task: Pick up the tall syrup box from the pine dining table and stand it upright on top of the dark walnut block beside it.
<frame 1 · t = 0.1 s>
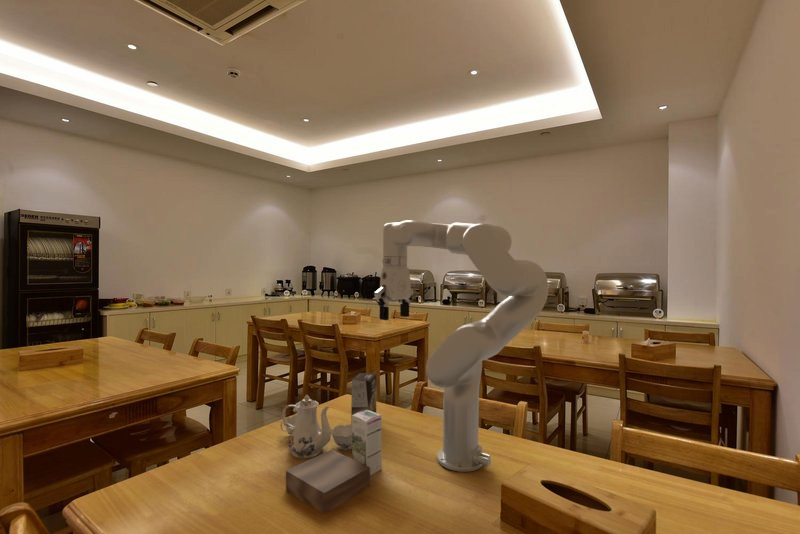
hand: (394, 318, 123), 37 cm above the table, tool pointing down, fingers open, 9 cm apart
coffee box: (364, 425, 132), on the table
chinaware: (313, 447, 116), on the table
walnut block: (328, 489, 95), on the table
syrup box: (366, 470, 103), on the table
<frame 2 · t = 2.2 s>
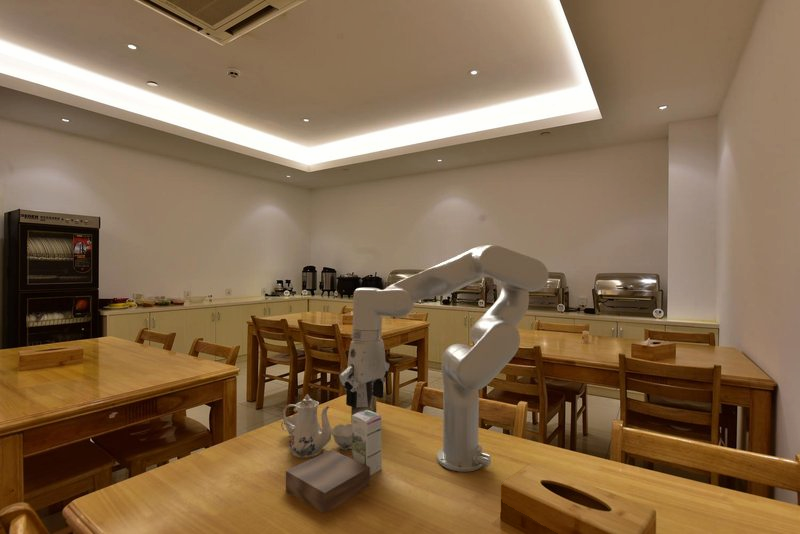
hand: (365, 401, 103), 18 cm above the table, tool pointing down, fingers open, 9 cm apart
nothing on the table moved.
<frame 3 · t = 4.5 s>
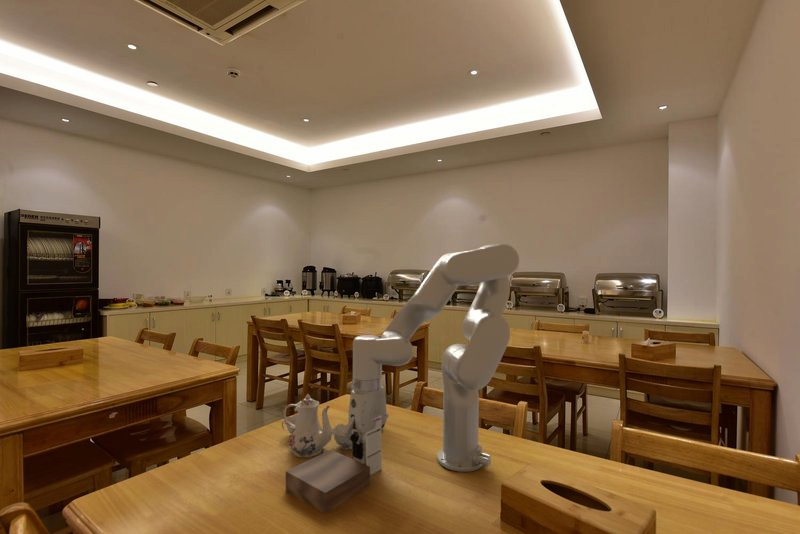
hand: (366, 452, 103), 5 cm above the table, tool pointing down, fingers closed on syrup box, 6 cm apart
syrup box: (366, 470, 103), on the table, touching gripper
everything else where it was.
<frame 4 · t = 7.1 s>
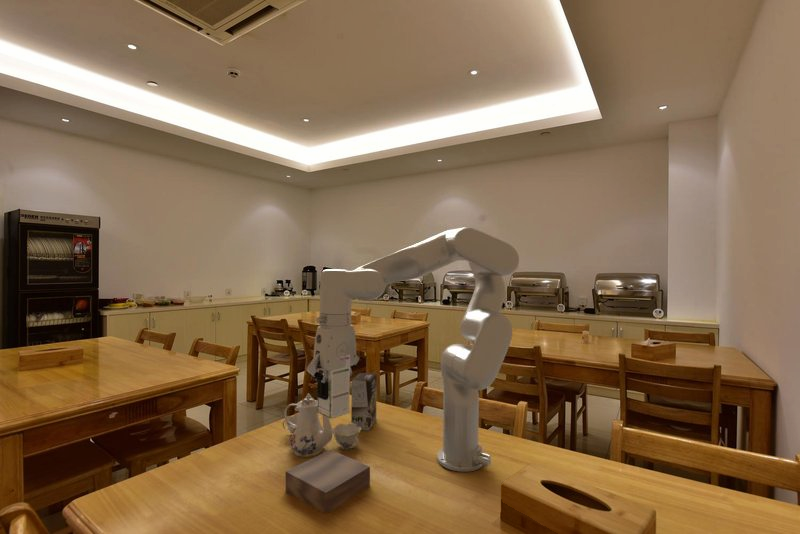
hand: (333, 394, 96), 22 cm above the table, tool pointing down, fingers closed on syrup box, 6 cm apart
syrup box: (333, 414, 96), point 17 cm above the table, touching gripper
everything else where it was.
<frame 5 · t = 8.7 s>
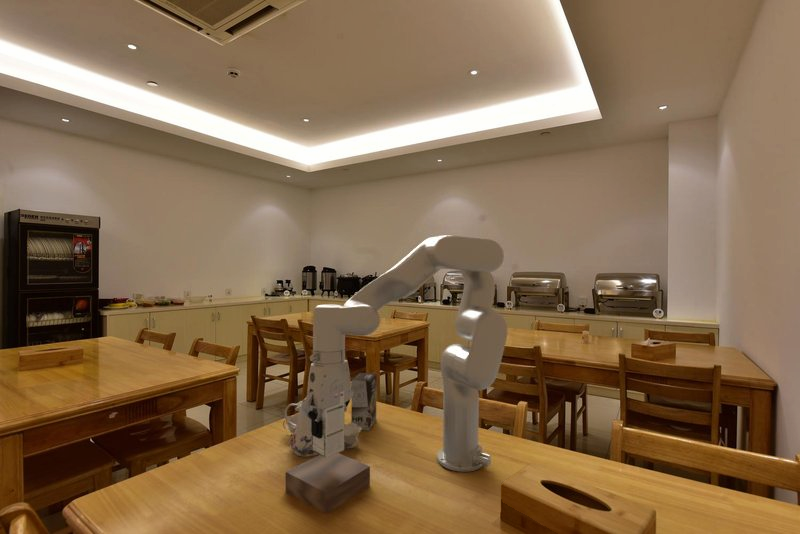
hand: (328, 431, 95), 14 cm above the table, tool pointing down, fingers closed on syrup box, 6 cm apart
syrup box: (327, 451, 95), point 9 cm above the table, touching gripper
everything else where it was.
when the fingers open (11 cm above the table, at t = 10.1 s): syrup box drops 2 cm, resting on walnut block.
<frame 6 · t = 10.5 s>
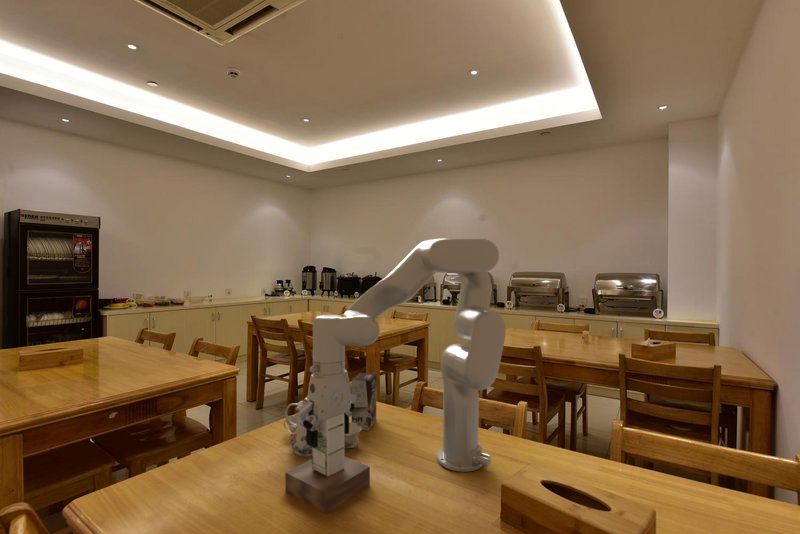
hand: (328, 438, 95), 12 cm above the table, tool pointing down, fingers open, 9 cm apart
walnut block: (328, 490, 95), on the table, touching syrup box
syrup box: (328, 470, 95), point 4 cm above the table, touching walnut block
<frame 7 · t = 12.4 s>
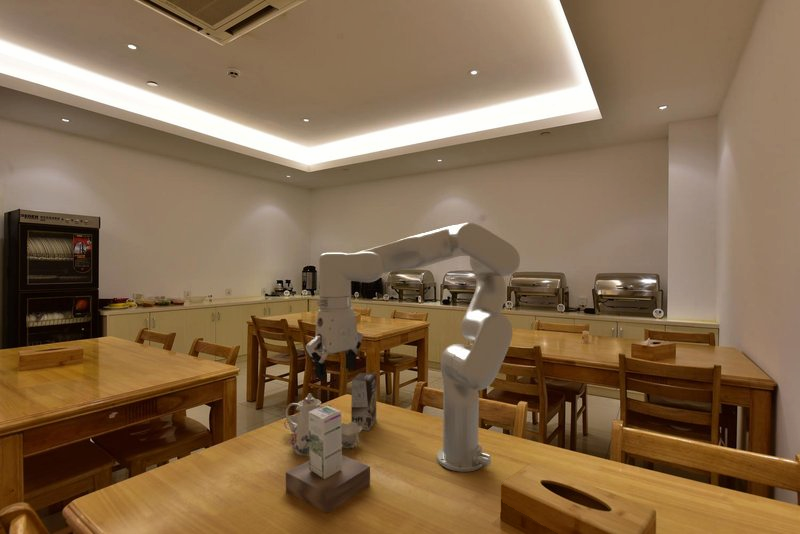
hand: (336, 373, 96), 27 cm above the table, tool pointing down, fingers open, 9 cm apart
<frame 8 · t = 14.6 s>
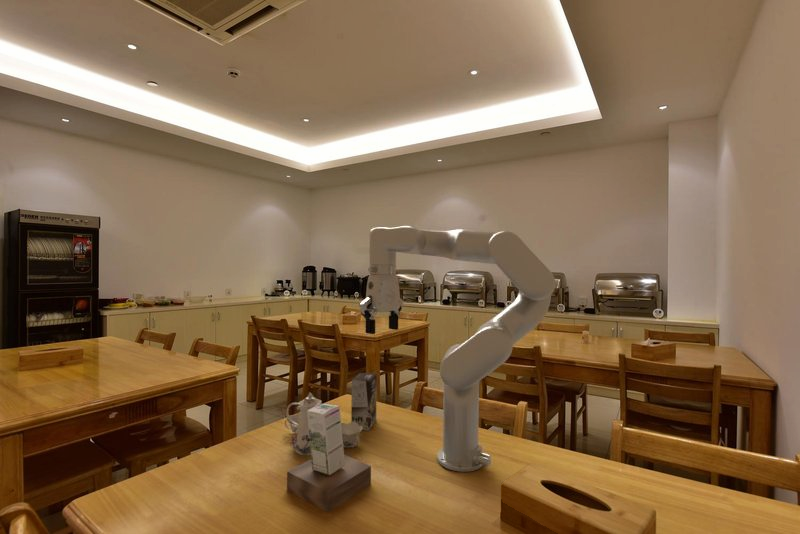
hand: (382, 331, 113), 34 cm above the table, tool pointing down, fingers open, 9 cm apart
walnut block: (329, 489, 95), on the table
syrup box: (328, 469, 95), point 5 cm above the table
at the end: syrup box inside the target area on the walnut block (0.5 cm from its centre), point 5.5 cm above the walnut block's base; syrup box tilted 10°; the gripper is holding nothing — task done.
